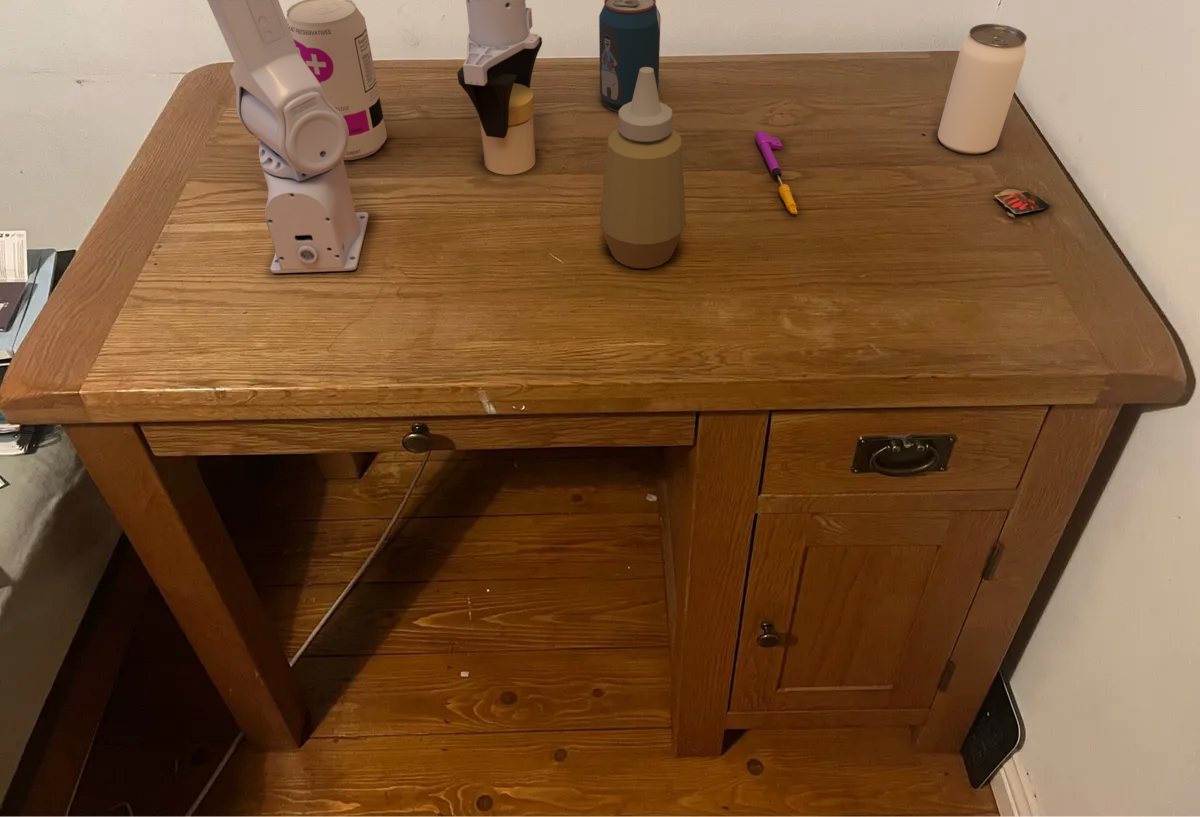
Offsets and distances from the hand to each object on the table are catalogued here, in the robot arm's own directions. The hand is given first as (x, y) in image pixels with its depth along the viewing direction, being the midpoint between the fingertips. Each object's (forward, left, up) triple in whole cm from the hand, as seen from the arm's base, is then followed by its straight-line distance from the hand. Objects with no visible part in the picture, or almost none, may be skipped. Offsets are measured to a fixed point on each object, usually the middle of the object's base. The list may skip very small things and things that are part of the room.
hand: (506, 121), depth 97 cm
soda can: (+13, -14, -5) cm, 20 cm away
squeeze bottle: (-18, -13, -5) cm, 23 cm away
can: (+1, -51, -5) cm, 51 cm away
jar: (0, 0, -5) cm, 5 cm away
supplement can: (+5, +18, -5) cm, 19 cm away
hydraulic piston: (-5, -29, -5) cm, 30 cm away
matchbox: (-12, -52, -5) cm, 54 cm away
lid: (0, 0, +2) cm, 2 cm away
